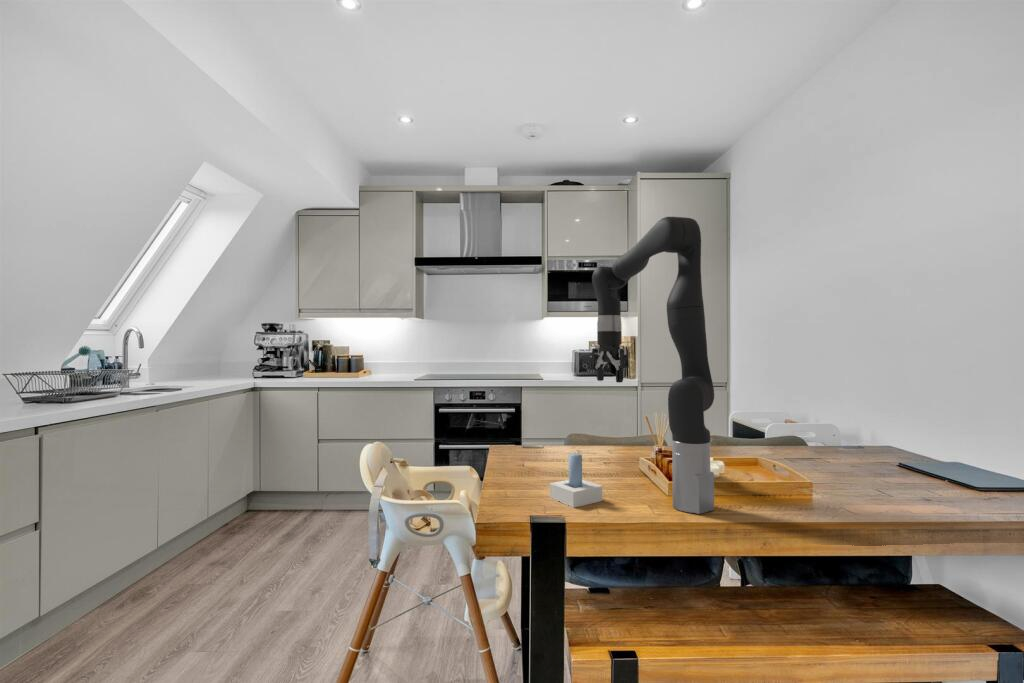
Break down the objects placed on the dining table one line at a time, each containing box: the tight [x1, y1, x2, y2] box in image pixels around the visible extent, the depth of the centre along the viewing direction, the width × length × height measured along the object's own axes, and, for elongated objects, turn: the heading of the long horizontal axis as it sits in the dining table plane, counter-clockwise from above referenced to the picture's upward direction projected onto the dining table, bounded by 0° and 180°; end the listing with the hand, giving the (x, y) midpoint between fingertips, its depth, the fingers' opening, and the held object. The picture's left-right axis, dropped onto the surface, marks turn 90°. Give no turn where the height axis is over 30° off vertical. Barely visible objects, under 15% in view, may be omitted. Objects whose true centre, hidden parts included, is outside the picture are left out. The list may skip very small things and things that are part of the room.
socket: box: [549, 478, 603, 508], centre depth 141 cm, size 10×10×4 cm
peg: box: [568, 453, 583, 488], centre depth 142 cm, size 4×4×12 cm
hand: (609, 381), depth 164 cm, fingers open, 8 cm apart
